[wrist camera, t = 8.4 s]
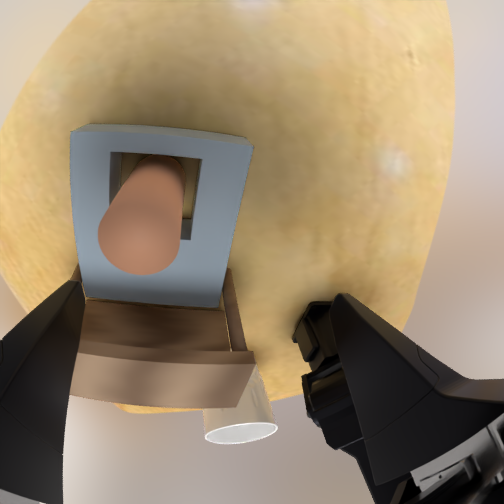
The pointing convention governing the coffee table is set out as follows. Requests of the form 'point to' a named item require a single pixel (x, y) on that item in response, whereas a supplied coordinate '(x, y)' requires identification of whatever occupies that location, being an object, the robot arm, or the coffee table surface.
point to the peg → (145, 218)
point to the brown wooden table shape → (162, 354)
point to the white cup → (242, 416)
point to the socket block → (192, 230)
